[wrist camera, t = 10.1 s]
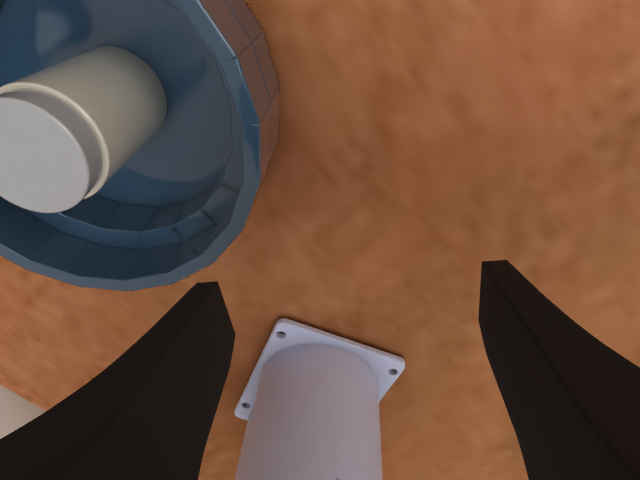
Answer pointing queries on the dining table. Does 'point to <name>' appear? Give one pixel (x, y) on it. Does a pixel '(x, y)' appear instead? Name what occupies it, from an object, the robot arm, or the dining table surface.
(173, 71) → the bowl
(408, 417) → the dining table surface
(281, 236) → the dining table surface
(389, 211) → the dining table surface
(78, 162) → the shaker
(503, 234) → the dining table surface
